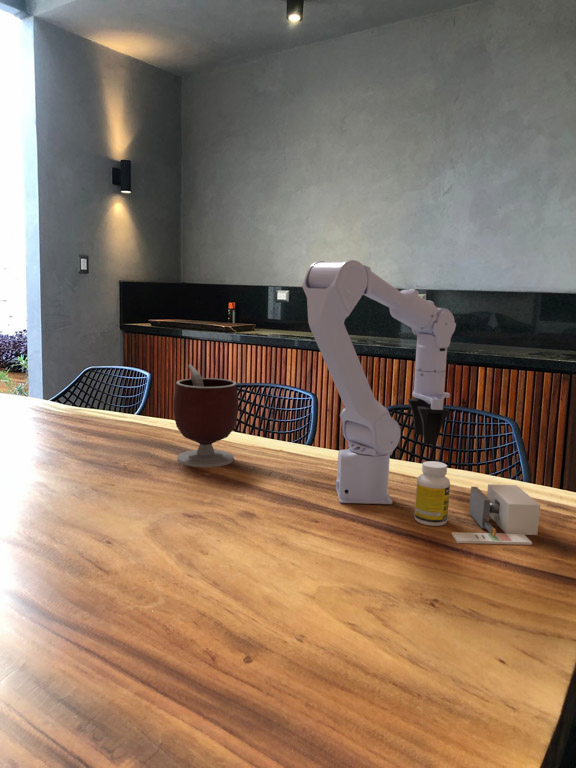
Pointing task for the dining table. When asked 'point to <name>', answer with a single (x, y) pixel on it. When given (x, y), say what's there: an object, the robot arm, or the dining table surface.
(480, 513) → the plunger
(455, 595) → the dining table surface
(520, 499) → the gauge
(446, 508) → the supplement bottle
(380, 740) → the dining table surface
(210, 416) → the mate gourd
